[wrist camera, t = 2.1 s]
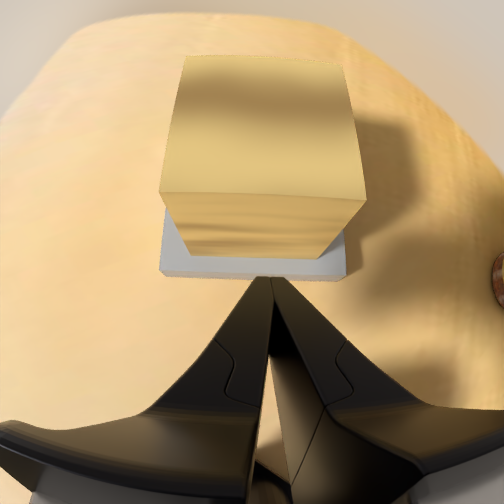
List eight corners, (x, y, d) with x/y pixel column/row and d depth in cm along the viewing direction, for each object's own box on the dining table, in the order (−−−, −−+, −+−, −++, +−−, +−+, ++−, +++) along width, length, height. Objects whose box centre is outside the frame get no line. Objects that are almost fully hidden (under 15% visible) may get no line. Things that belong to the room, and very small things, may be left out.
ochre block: (316, 259, 21) (366, 200, 12) (190, 255, 20) (158, 191, 12) (310, 154, 23) (341, 64, 14) (201, 149, 23) (186, 56, 14)
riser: (337, 281, 22) (346, 275, 20) (165, 276, 22) (159, 269, 20) (328, 159, 25) (335, 145, 23) (180, 153, 25) (176, 138, 23)
